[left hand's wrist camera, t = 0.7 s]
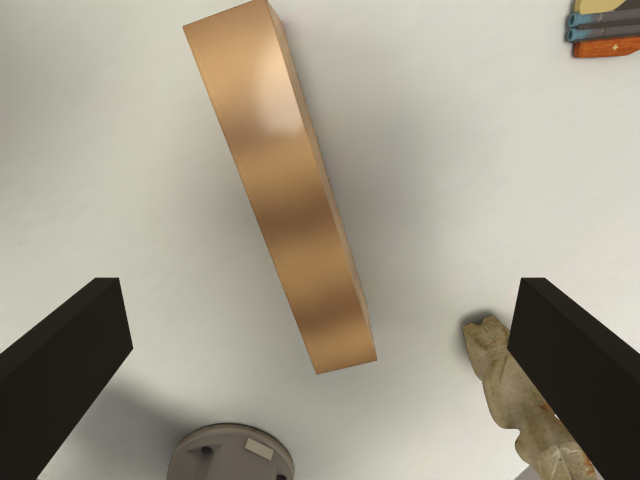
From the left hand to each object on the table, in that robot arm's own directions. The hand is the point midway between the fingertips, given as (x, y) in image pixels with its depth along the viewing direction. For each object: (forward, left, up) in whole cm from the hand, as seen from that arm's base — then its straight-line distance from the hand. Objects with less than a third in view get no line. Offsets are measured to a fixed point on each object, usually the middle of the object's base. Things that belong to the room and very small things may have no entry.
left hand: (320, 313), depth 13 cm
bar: (-2, +1, -23) cm, 23 cm away
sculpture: (-8, -23, -23) cm, 34 cm away
